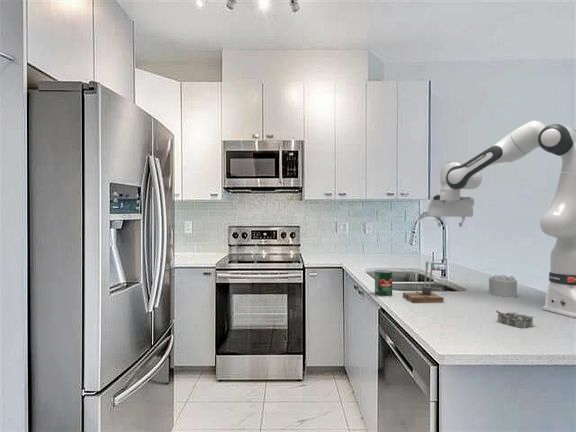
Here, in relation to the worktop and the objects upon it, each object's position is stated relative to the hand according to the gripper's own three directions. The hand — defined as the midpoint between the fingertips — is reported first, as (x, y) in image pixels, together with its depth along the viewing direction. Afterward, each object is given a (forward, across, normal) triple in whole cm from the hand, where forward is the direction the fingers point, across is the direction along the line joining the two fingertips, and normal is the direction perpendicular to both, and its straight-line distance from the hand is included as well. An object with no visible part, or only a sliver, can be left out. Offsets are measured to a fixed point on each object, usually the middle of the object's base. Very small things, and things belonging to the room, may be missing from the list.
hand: (449, 226), depth 208 cm
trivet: (+31, +11, +22) cm, 40 cm away
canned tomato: (+31, +28, +17) cm, 45 cm away
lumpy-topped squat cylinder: (+31, -23, -2) cm, 39 cm away
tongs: (+29, +10, +21) cm, 37 cm away
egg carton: (+32, -20, +54) cm, 66 cm away
